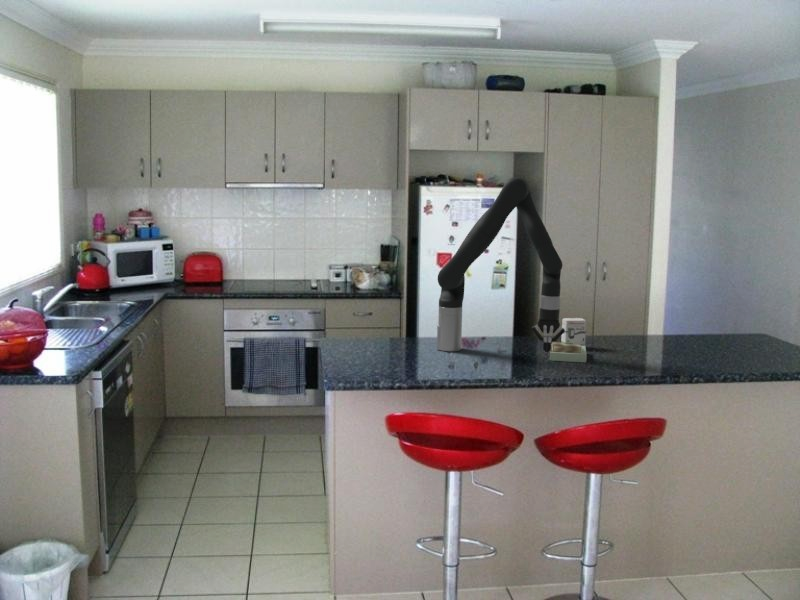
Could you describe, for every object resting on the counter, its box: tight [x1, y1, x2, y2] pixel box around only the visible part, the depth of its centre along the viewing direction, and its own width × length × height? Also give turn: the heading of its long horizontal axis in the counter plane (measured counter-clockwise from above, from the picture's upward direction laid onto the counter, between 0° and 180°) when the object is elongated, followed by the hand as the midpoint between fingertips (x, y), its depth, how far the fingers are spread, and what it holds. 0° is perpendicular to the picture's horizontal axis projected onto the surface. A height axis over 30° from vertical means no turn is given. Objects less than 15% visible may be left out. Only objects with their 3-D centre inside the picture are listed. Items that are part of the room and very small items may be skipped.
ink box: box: [560, 317, 587, 347], centre depth 342 cm, size 9×5×12 cm, turn 100°
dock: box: [549, 343, 588, 363], centre depth 326 cm, size 14×16×3 cm
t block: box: [551, 341, 580, 353], centre depth 326 cm, size 10×10×4 cm
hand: (546, 351), depth 327 cm, fingers closed
